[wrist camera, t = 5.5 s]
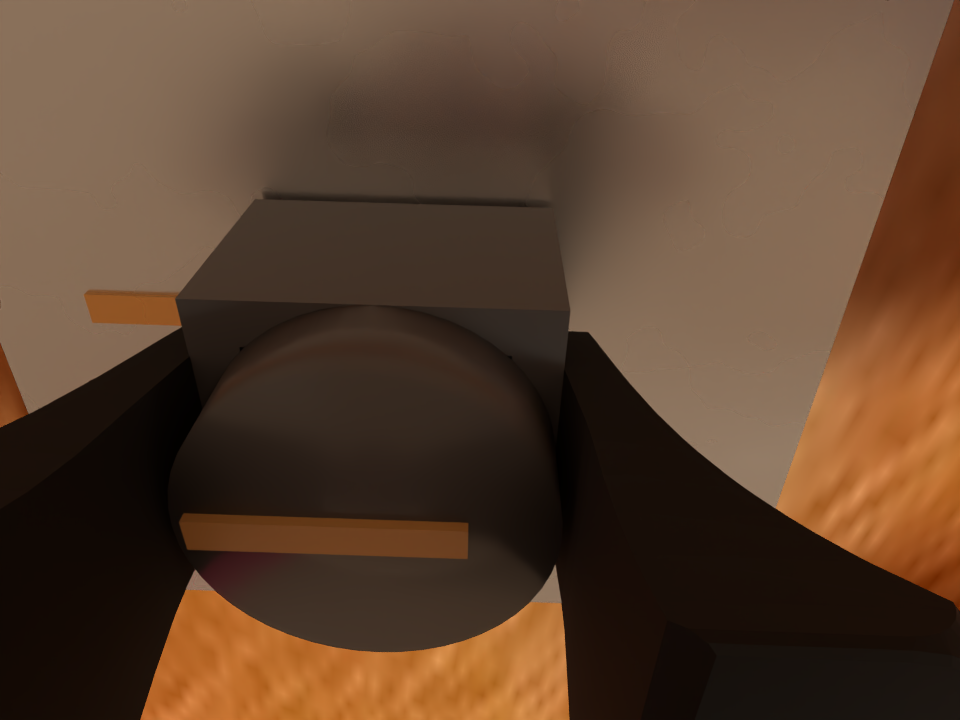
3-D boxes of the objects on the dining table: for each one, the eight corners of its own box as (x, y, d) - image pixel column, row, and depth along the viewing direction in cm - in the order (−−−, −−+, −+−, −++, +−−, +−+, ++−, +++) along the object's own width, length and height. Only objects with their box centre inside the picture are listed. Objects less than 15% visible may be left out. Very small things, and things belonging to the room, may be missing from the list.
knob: (553, 208, 12) (584, 387, 8) (533, 439, 15) (548, 667, 10) (254, 198, 12) (115, 372, 8) (291, 431, 15) (205, 655, 10)
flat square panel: (983, -205, 10) (1194, -252, 7) (728, 577, 18) (772, 705, 15) (-175, -244, 10) (-465, -307, 7) (115, 555, 18) (43, 678, 16)
